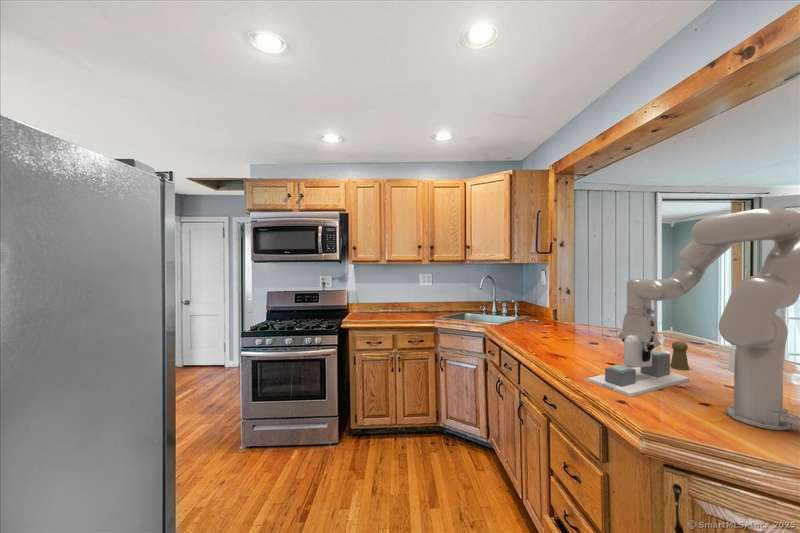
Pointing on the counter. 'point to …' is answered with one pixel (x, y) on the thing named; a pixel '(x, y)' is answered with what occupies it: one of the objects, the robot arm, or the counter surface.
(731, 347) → the cup
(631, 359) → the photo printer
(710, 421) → the counter surface
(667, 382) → the mounting board
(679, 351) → the olive green bristly cone
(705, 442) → the counter surface
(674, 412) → the counter surface
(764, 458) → the counter surface
